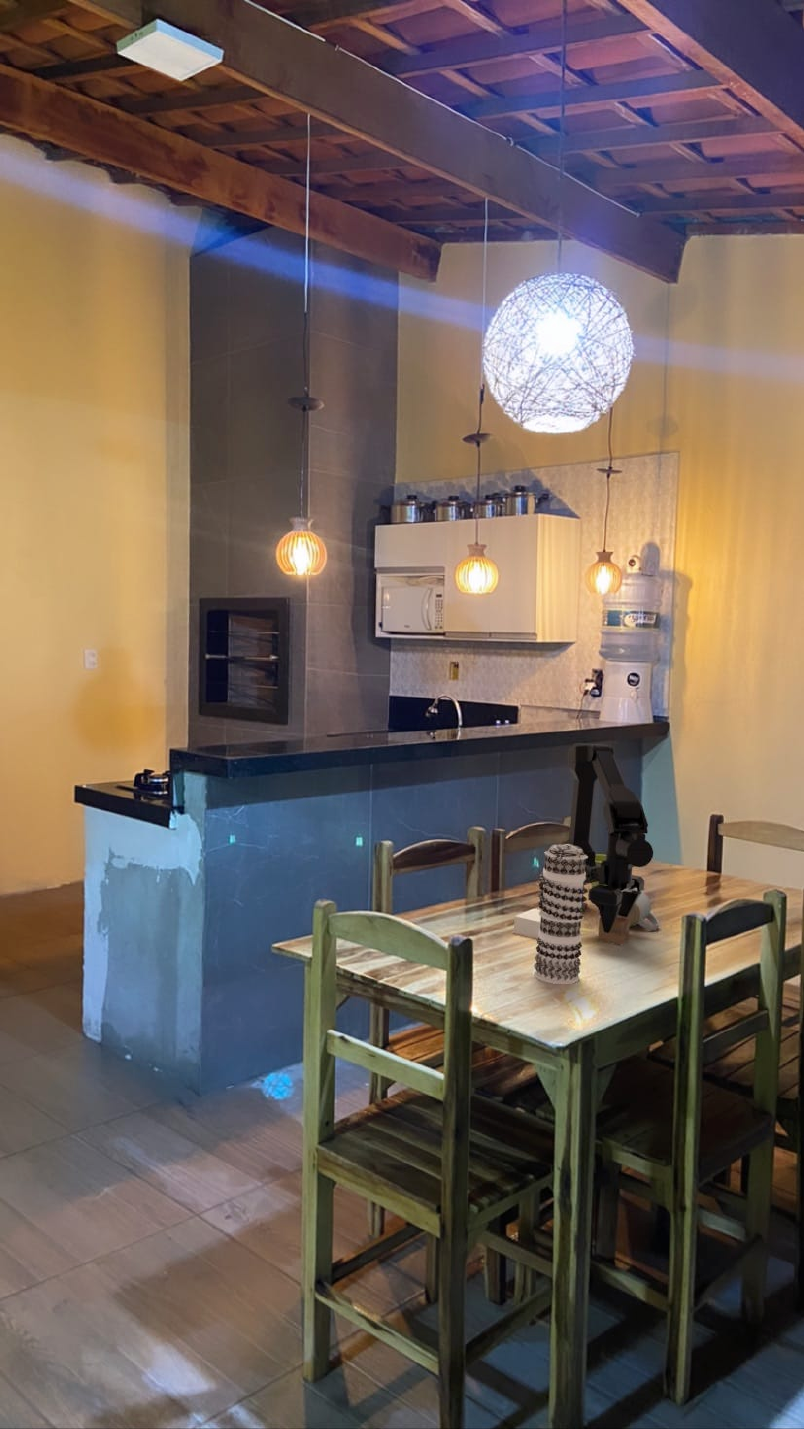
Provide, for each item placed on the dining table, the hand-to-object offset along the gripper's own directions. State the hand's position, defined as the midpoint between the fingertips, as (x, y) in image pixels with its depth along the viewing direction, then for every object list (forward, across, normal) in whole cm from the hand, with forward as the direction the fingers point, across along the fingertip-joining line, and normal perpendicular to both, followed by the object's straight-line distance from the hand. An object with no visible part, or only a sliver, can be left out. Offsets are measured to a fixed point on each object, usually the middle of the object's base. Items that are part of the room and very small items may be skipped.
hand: (614, 927), depth 219 cm
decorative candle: (+3, +31, 0) cm, 31 cm away
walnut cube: (+3, 0, 0) cm, 3 cm away
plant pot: (+3, -40, -17) cm, 44 cm away
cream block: (+3, +6, -14) cm, 16 cm away
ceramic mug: (+3, -15, 0) cm, 15 cm away
